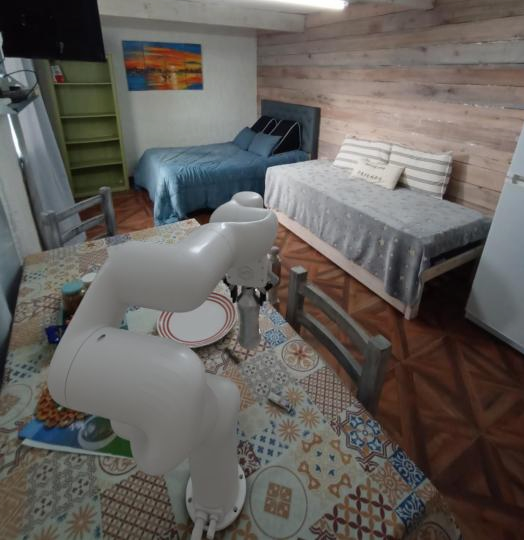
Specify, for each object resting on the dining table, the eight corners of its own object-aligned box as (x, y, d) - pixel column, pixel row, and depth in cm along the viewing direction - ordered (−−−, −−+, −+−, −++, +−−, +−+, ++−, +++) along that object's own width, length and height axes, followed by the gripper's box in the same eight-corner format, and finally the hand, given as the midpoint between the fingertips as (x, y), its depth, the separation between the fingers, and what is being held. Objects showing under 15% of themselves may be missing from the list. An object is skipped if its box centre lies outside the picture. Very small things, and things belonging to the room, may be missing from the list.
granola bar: (266, 399, 85) (266, 396, 85) (270, 392, 87) (270, 389, 87) (288, 412, 82) (288, 410, 82) (292, 405, 84) (292, 402, 83)
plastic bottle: (258, 355, 85) (258, 295, 78) (234, 350, 86) (232, 291, 79) (263, 336, 91) (264, 279, 83) (240, 332, 92) (239, 275, 85)
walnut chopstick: (240, 362, 96) (240, 359, 96) (238, 364, 95) (237, 361, 95) (226, 348, 101) (226, 346, 100) (224, 350, 100) (223, 347, 100)
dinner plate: (145, 318, 113) (143, 311, 111) (211, 286, 129) (210, 279, 128) (180, 371, 93) (179, 363, 92) (252, 325, 110) (252, 318, 108)
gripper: (208, 247, 74) (212, 307, 81) (281, 253, 72) (279, 315, 78) (217, 231, 81) (220, 288, 88) (284, 237, 79) (282, 295, 85)
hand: (248, 300), depth 83 cm, fingers closed on plastic bottle, 6 cm apart
